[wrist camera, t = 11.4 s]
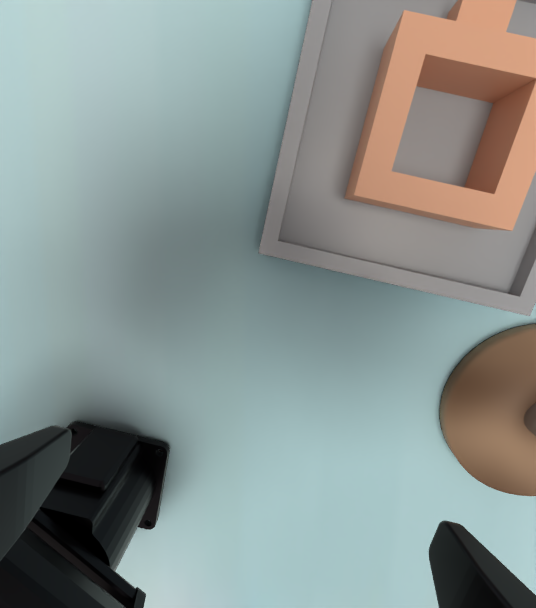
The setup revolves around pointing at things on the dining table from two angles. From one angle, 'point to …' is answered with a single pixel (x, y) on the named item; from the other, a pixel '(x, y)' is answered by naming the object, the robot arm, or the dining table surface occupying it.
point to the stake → (495, 411)
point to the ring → (463, 82)
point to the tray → (409, 160)
